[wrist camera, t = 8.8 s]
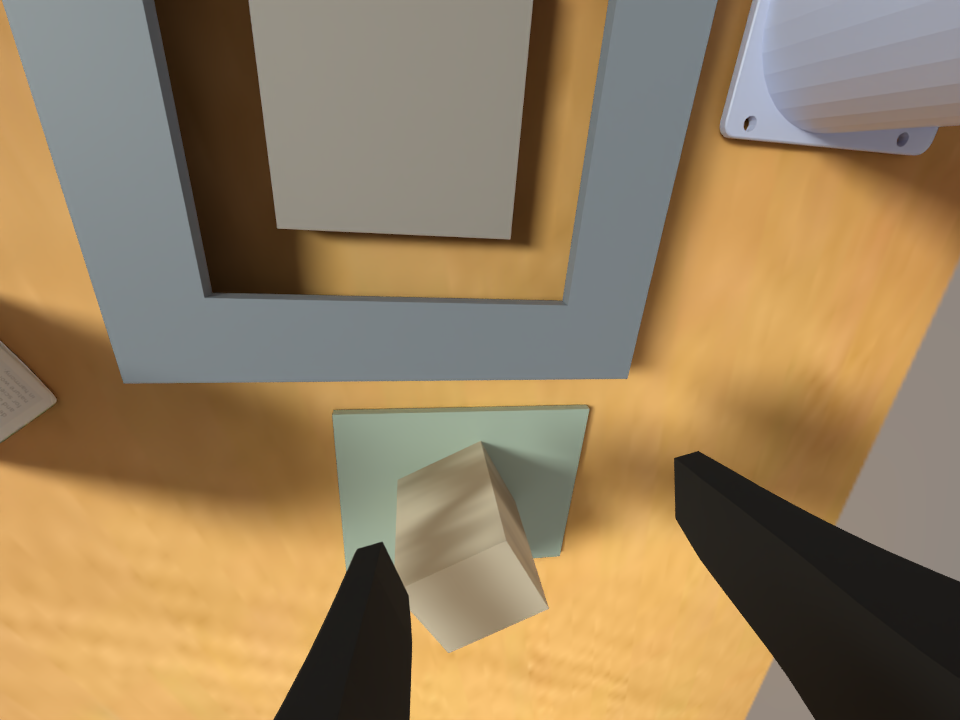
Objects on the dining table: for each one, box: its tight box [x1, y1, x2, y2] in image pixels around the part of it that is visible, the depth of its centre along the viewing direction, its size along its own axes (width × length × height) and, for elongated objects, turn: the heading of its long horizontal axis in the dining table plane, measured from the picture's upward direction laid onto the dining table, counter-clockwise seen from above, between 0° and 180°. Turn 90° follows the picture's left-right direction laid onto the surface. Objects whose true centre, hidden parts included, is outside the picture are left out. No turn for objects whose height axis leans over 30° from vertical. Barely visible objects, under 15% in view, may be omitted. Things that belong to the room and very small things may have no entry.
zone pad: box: [332, 405, 589, 572], centre depth 22 cm, size 12×10×1 cm
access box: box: [2, 0, 718, 383], centre depth 13 cm, size 18×18×3 cm
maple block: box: [394, 441, 549, 653], centre depth 19 cm, size 4×4×6 cm
